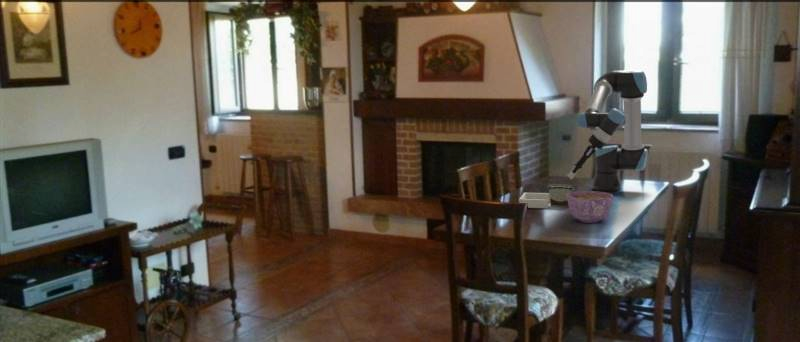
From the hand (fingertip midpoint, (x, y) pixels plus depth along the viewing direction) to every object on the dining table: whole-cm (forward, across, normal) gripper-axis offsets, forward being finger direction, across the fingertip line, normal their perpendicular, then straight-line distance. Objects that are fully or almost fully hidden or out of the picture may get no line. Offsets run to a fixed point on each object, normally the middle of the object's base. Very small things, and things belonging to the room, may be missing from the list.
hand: (569, 177), depth 358 cm
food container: (+14, -2, +5) cm, 15 cm away
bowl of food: (+3, +31, +18) cm, 36 cm away
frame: (+21, -2, -5) cm, 22 cm away
